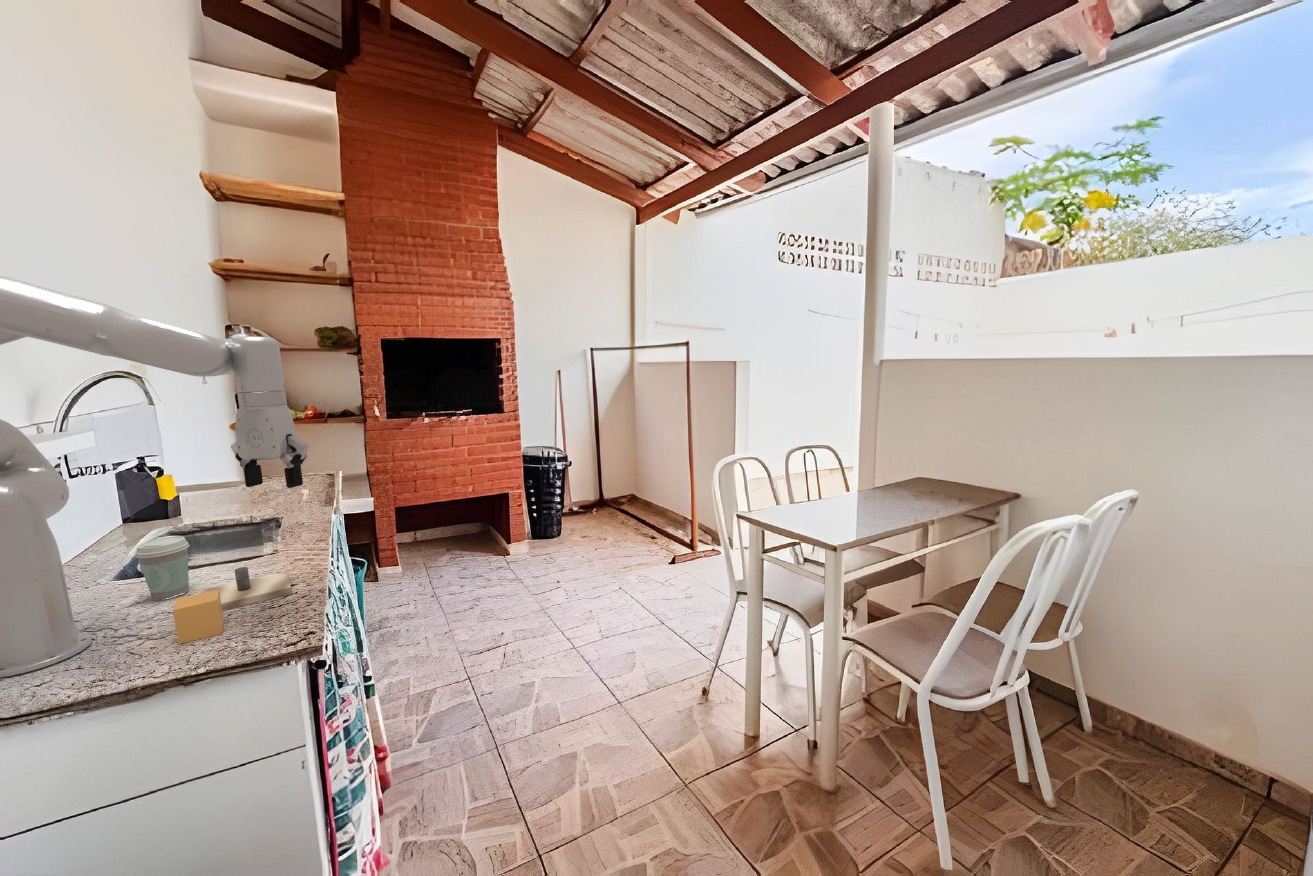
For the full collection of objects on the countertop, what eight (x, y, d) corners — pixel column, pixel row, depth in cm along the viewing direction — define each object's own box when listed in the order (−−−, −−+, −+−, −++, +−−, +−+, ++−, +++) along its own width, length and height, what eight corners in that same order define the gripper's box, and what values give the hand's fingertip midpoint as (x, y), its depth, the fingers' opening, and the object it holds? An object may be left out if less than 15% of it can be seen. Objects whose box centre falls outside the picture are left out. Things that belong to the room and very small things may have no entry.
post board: (193, 617, 102) (188, 589, 101) (198, 597, 112) (194, 570, 111) (291, 594, 112) (288, 567, 111) (289, 576, 121) (285, 552, 120)
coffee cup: (136, 599, 112) (126, 545, 110) (186, 583, 119) (177, 533, 118) (154, 606, 108) (143, 551, 106) (204, 590, 115) (195, 538, 114)
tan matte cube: (178, 644, 92) (172, 610, 91) (182, 631, 97) (176, 598, 96) (222, 633, 96) (216, 600, 95) (224, 621, 101) (219, 589, 100)
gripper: (207, 403, 100) (220, 489, 103) (282, 401, 97) (294, 491, 99) (245, 400, 108) (256, 481, 110) (316, 398, 104) (326, 482, 107)
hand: (274, 486), depth 105 cm, fingers open, 9 cm apart
